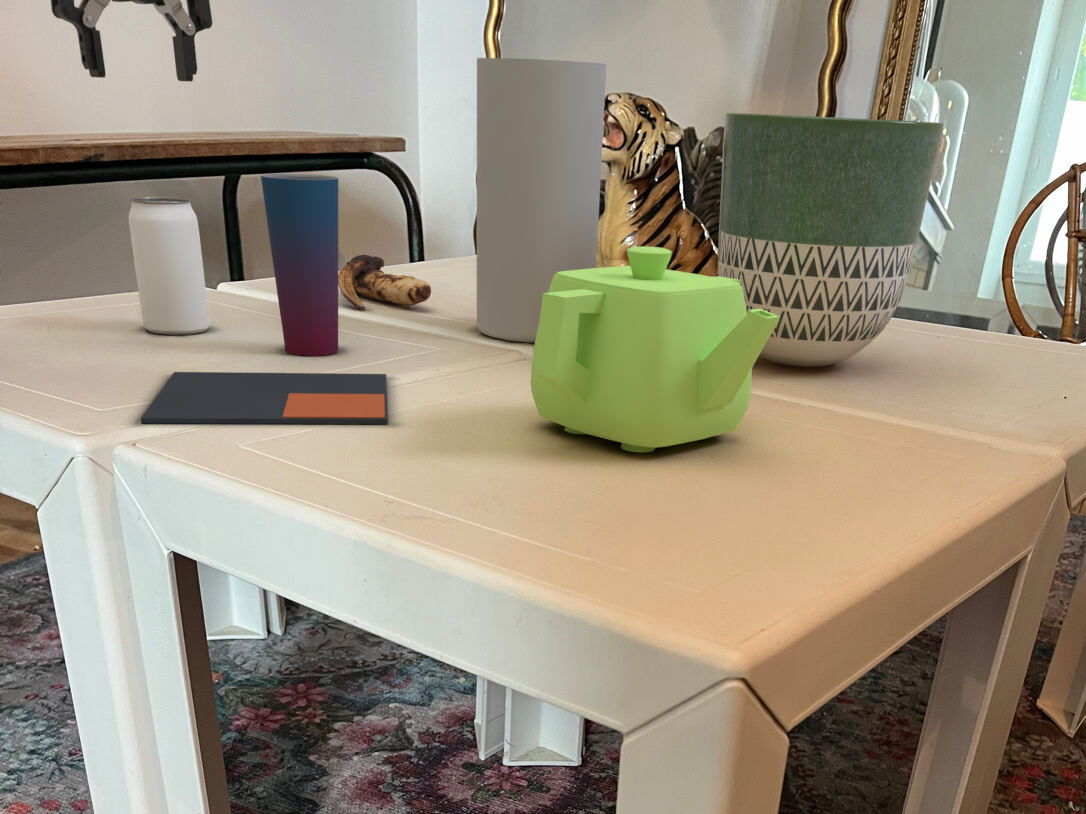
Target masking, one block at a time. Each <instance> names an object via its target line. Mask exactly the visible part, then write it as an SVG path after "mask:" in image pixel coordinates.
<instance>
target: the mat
mask: <svg viewBox="0 0 1086 814" xmlns="http://www.w3.org/2000/svg"><path fill="white" fill-rule="evenodd" d="M388 417H389V416H388V386H387V374H386V373H329V372H327V373H325V372H322V373H320V372H319V373H318V372H317V373H316V372H314V373H312V372H232V371H231V372H229V371H228V372H227V371H226V372H223V371H222V372H220V371H219V372H216V371H214V372H213V371H209V372H208V371H174V372H173V373H172V374H171V376H170V377H169V379H167V381H166V382H165V384H164V385H163V386H162V388H161V389H160V390H159V392H158V394H157V395H156V396H155V398H153V401H152V402H151V403H150V405H148V407H147V408H146V410H145V412H144V413H143V414H142V415H141V417H140V423H141V424H205V425H206V424H207V425H208V424H211V425H212V424H215V425H216V424H217V425H218V424H223V425H225V424H230V425H231V424H232V425H233V424H235V425H236V424H239V425H240V424H241V425H243V424H244V425H247V424H248V425H249V424H250V425H252V424H253V425H255V424H256V425H261V424H263V425H388V424H389V418H388Z"/></svg>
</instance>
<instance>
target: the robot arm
mask: <svg viewBox="0 0 1086 814" xmlns="http://www.w3.org/2000/svg"><path fill="white" fill-rule="evenodd" d="M110 2H113V3H114V2H115V3H127V2H132V3H134V4H137V5H153V7H154V9H155V10H156V11H157V13H159V14H160V15H161V16H163V18H164V20H165V21H166V22H167V24H168V25H169V27H170V28H171V30H172V31H173V32H174V34H175V35H172V36H171V37H172V46H173V54H174V55H173V56H174V64H175V72H176V79H177V80H178V81H179V82H190V83H192V82H193V81H194V76H195V75H197V73H198V63H197V52H196V42H195V37H196V35H197V33H199V32H201V31H205V30H207V29H211V28H212V26H213V17H212V16H213V15H212V10H211V3H210V0H186V1H185V2H186V7H187V12H186V10H185V8H184V7H183V3H182V1H181V0H80V3H78V6H76V5H75V0H50V6H51V7H50V8H51V12H52V14H53V16H54V18H56V19H59V20H61V19H62V20H63V21H65V22H68V23H69V24H71V25H72V26H74V28H75V30H76V32H77V38H78V45H79V50H80V51H79V52H80V53H79V54H80V59H81V64H82V66H83V68H84V70H88V73H89V76H90V77H91V78H102V79H103V78H105V77H106V66H105V60H104V59H105V58H104V52H103V51H104V50H103V45H102V44H103V43H102V38H101V37H102V36H101V31H100V30H99V29H97V28H96V26H97V23H98V21H99V19H100V17H101V16H102V14H103V13H104V10H105V9H106V8H107V7H108V6H109V4H110Z"/></svg>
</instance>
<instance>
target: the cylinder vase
mask: <svg viewBox="0 0 1086 814" xmlns="http://www.w3.org/2000/svg"><path fill="white" fill-rule="evenodd" d="M606 76H607V64H606V63H598V62H589V61H588V62H587V61H574V60H573V61H572V60H555V59H537V58H536V59H535V58H512V57H511V58H508V57H507V58H506V57H477V58H476V326H477V329H478V330H479V331H480V333H482V334H483V335H486V336H488V337H491V338H494V339H498V340H502V341H503V340H504V341H510V342H517V343H529V344H531V343H532V344H535V340H536V335H537V330H538V326H539V321H540V313H541V305H542V297H543V293H548V291H549V288H550V285H551V282H552V279H553V277H554V275H555V274H556V273H557V272H560V271H569V270H579V269H591V268H597V257H598V239H599V237H598V236H599V220H600V201H601V200H600V197H601V177H602V161H603V160H602V156H603V141H604V140H603V139H604V138H603V137H604V118H605V117H604V116H605V100H606V99H605V97H606V82H607V81H606V80H607V79H606V78H607V77H606Z"/></svg>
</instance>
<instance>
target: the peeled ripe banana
mask: <svg viewBox="0 0 1086 814" xmlns="http://www.w3.org/2000/svg"><path fill="white" fill-rule="evenodd" d="M384 267H385V261H384V259H383V258H382V257H380V256H372V255H369V254H359V255H355V256H353V257H352V258H351V259H350V261H347V262H346V265H345V266H343V267H342V268H341V269H340V271H338V289H339V290H340V292H341V294H342V295H343V296H344V298H345V299H346V300H347V302H349V303H350V304H351V305H352V306H353V307H354V308H356V309H358V310H361V311H363V310H366V306H365V305H364V304H363V302H362V301H361V299H360V298H359V296H358V295H360V296H363V297H365V298H369V299H374V300H379V301H381V302H385V303H391V304H396V305H403V306H404V305H405V306H415V305H419V304H421V303H424V302H426V301H427V300H429V298H431V297H430V296H431V295H432V286H431V285H430V283H428V282H426V281H424V280H421V279H418V278H416V277H414V276H412V275H405V274H400V275H397V274H393V273H385V272H384V271H383V270H381V269H382V268H384Z"/></svg>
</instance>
